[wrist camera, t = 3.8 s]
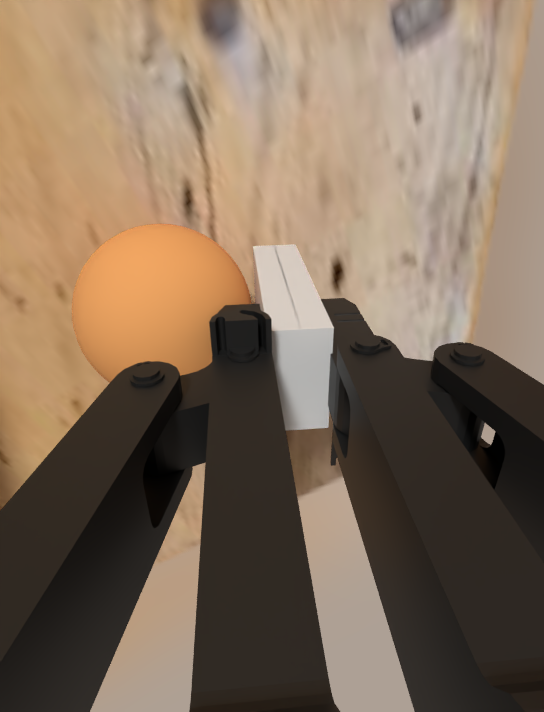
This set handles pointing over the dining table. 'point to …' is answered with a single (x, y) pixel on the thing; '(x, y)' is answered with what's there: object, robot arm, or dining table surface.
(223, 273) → the ball
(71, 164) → the dining table surface
